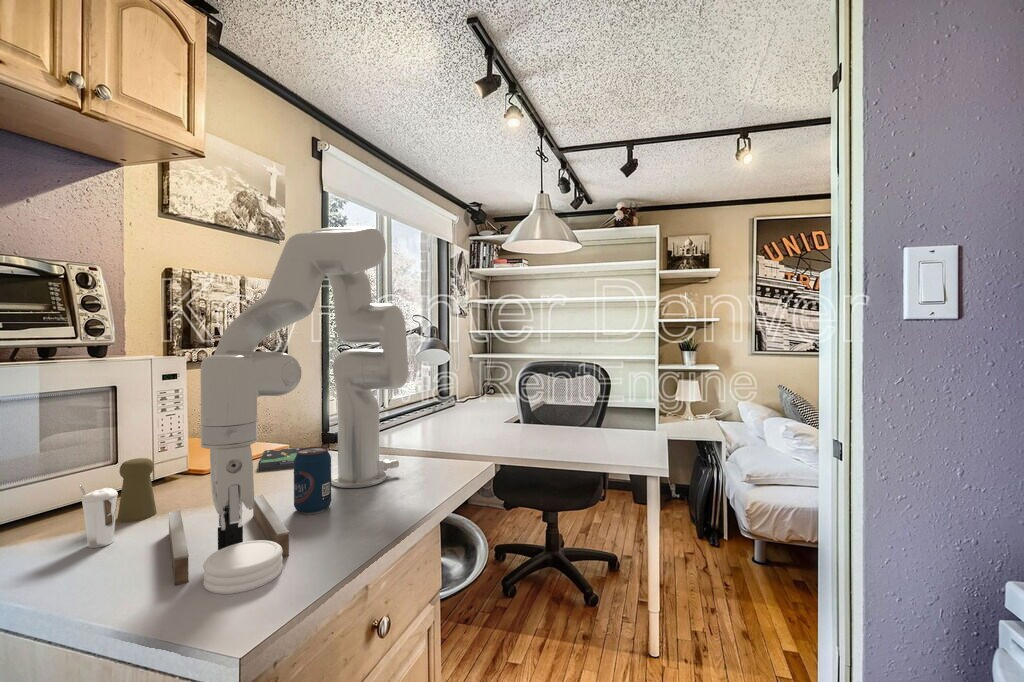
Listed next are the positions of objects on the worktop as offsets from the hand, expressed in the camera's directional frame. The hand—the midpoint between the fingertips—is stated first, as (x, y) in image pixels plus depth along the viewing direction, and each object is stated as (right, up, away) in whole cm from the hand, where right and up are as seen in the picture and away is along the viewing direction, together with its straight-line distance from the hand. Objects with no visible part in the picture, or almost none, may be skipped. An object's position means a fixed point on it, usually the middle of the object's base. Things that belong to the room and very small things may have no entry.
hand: (230, 551), depth 74 cm
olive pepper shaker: (-29, -1, +18) cm, 34 cm away
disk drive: (-20, -1, +58) cm, 61 cm away
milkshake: (-26, -2, +6) cm, 26 cm away
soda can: (+4, -1, +22) cm, 22 cm away
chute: (-4, -1, +6) cm, 7 cm away
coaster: (+5, -2, -5) cm, 7 cm away
